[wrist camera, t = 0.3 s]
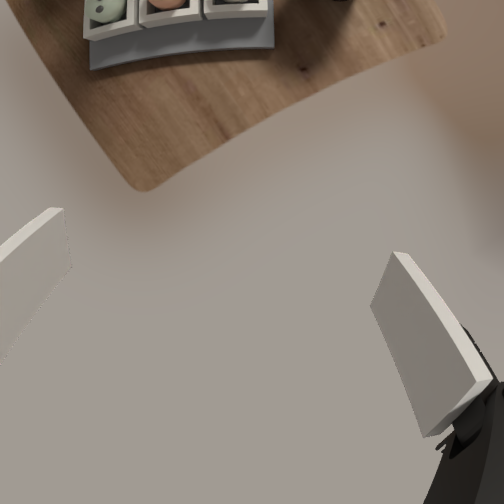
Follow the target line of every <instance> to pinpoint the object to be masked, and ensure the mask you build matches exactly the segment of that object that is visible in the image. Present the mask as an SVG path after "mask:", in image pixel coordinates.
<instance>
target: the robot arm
mask: <svg viewBox="0 0 504 504" xmlns="http://www.w3.org/2000/svg"><path fill="white" fill-rule="evenodd" d="M71 268H72V264H71V258H70V252H69V246H68V239H67V232H66V224H65V215H64V209H63V208H55V207H49V208H48V209H46V210H45V211H44V212H42V213H41V214H39V215H38V216H37V217H36V218H34V219H33V220H32V221H30V222H29V223H28V224H26V225H25V226H24V227H23V228H21V229H20V230H19V231H18V232H17V233H15V234H14V235H13V236H12V237H10V238H9V239H8V240H7V241H6V242H4V243H3V244H2V245H1V246H0V365H1V364H2V362H3V361H4V359H5V358H6V356H7V354H8V353H9V351H10V350H11V348H12V346H13V345H14V344H15V342H16V341H17V339H18V338H19V336H20V335H21V333H22V332H23V331H24V329H25V328H26V326H27V325H28V323H29V322H30V321H31V319H32V318H33V316H34V315H35V314H36V312H37V311H38V310H39V308H40V307H41V306H42V304H43V303H44V302H45V300H46V299H47V298H48V296H49V295H50V294H51V293H52V291H53V290H54V288H56V286H57V285H58V284H59V282H60V281H61V280H62V279H63V277H64V276H65V275H66V274H67V272H68V271H69V270H70V269H71ZM370 307H371V309H372V311H373V313H374V316H375V318H376V320H377V322H378V325H379V327H380V329H381V331H382V334H383V336H384V338H385V341H386V343H387V345H388V347H389V350H390V352H391V355H392V357H393V359H394V362H395V364H396V367H397V369H398V372H399V374H400V377H401V379H402V381H403V384H404V387H405V389H406V392H407V395H408V397H409V400H410V403H411V405H412V408H413V411H414V414H415V416H416V419H417V422H418V425H419V427H420V431H421V434H422V436H423V438H425V437H430V436H434V435H438V434H441V433H442V432H443V431H444V430H445V429H446V428H448V427H449V426H450V425H451V424H452V425H453V427H454V431H453V432H452V433H451V434H450V435H449V436H447V437H446V438H445V439H444V440H443V441H442V442H441V443H439V444H438V445H437V447H436V450H439V449H440V448H441V447H442V446H443V445H444V444H446V447H445V449H444V450H442V451H441V453H443V455H442V458H441V461H440V464H439V467H438V469H437V472H436V474H435V477H434V479H433V482H432V484H431V487H430V489H429V491H428V494H427V496H426V498H425V500H424V503H423V504H504V382H501V383H500V382H499V381H498V379H497V377H496V376H495V374H494V372H493V371H492V369H491V367H490V366H489V364H488V362H487V361H486V359H485V357H484V356H483V354H482V352H480V349H479V348H478V346H477V345H476V344H475V343H474V342H475V341H474V340H473V338H472V337H471V335H470V334H469V332H468V331H467V330H466V329H465V328H464V327H463V326H462V325H461V324H460V323H459V322H458V321H457V319H456V318H455V316H454V315H453V313H452V312H451V311H450V309H449V308H448V306H447V305H446V304H445V302H444V301H443V299H442V298H441V297H440V295H439V294H438V292H437V291H436V290H435V288H434V287H433V286H432V285H431V283H430V282H429V280H428V279H427V278H426V276H425V275H424V274H423V273H422V271H421V270H420V269H419V267H418V266H417V265H416V263H415V262H414V261H413V260H412V258H411V257H410V256H409V255H408V254H407V253H400V252H394V251H393V252H392V254H391V257H390V259H389V262H388V264H387V267H386V269H385V272H384V274H383V277H382V279H381V281H380V284H379V286H378V289H377V291H376V293H375V296H374V298H373V300H372V303H371V305H370Z"/></svg>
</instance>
